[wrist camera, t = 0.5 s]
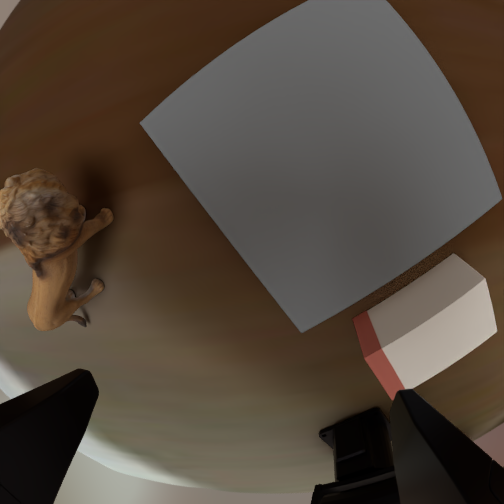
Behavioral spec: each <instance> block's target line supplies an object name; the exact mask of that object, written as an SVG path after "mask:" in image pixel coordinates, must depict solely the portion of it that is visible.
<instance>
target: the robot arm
mask: <svg viewBox="0 0 504 504" xmlns="http://www.w3.org/2000/svg"><path fill="white" fill-rule="evenodd" d="M98 396H99V390H98V387H97V385H96V383H95V380H94V378H93V376H92V374H91V372H90V371H88V370H84V369H76V370H74V371H72V372H70V373H68V374H65V375H63V376H61V377H59V378H57V379H55V380H53V381H50V382H48V383H46V384H44V385H42V386H40V387H37V388H35V389H33V390H31V391H29V392H26V393H24V394H22V395H20V396H17V397H15V398H13V399H11V400H8V401H6V402H4V403H2V404H0V504H53V503H54V501H55V498H56V496H57V494H58V491H59V489H60V487H61V484H62V482H63V480H64V477H65V475H66V473H67V470H68V468H69V466H70V464H71V461H72V459H73V457H74V455H75V453H76V451H77V449H78V446H79V444H80V442H81V440H82V438H83V436H84V434H85V431H86V429H87V426H88V423H89V420H90V418H91V415H92V412H93V409H94V407H95V404H96V401H97V399H98ZM319 437H320V438H321V439H322V440H323V441H324V442H326V443H327V444H328V445H329V446H330V447H331V448H332V449H333V453H334V471H335V482H332V483H328V484H323V485H322V484H319V485H315V489H314V492H313V495H312V500H311V504H504V468H503V467H502V466H500V465H499V464H498V463H497V462H496V461H495V460H492V458H491V457H490V456H489V455H488V454H487V453H485V452H484V451H483V450H482V449H481V448H480V447H478V446H477V445H476V444H475V443H474V442H473V441H472V440H470V439H469V438H468V437H467V436H466V435H465V434H464V433H462V432H461V431H460V430H459V429H458V428H457V427H456V426H454V425H453V424H452V423H451V422H450V421H449V420H447V419H446V418H445V417H444V416H443V415H442V414H441V413H439V412H438V411H437V410H436V409H435V408H434V407H433V406H431V405H430V404H429V403H428V402H427V401H426V400H424V399H423V398H422V397H421V396H420V395H419V394H418V393H416V392H415V391H414V390H413V389H403V390H398V391H397V392H396V395H395V398H394V401H393V404H392V407H391V410H390V422H389V421H388V419H387V418H386V416H385V415H384V414H383V412H382V411H381V410H380V408H373V409H371V410H369V411H367V412H365V413H363V414H360V415H358V416H356V417H354V418H351V419H349V420H347V421H344V422H342V423H339V424H337V425H334V426H332V427H329V428H327V429H324V430H322V431H320V432H319ZM391 440H392V446H391V442H390V441H391ZM392 448H393V451H392Z"/></svg>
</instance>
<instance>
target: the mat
mask: <svg viewBox="0 0 504 504" xmlns="http://www.w3.org/2000/svg"><path fill="white" fill-rule="evenodd" d="M140 124H141V125H142V127H143V128H144V129H145V131H146V132H147V133H148V135H149V136H150V137H151V139H152V140H153V141H154V143H155V144H156V145H157V147H158V148H159V149H160V151H161V152H162V153H163V155H164V156H165V157H166V159H167V160H168V161H169V163H170V164H171V165H172V167H173V168H174V169H175V171H176V172H177V173H178V174H179V176H180V177H181V178H182V180H183V181H184V182H185V184H186V185H187V186H188V188H189V189H190V190H191V192H192V193H193V194H194V195H195V197H196V198H197V199H198V201H199V202H200V203H201V205H202V206H203V207H204V209H205V210H206V211H207V212H208V214H209V215H210V216H211V218H212V219H213V220H214V222H215V223H216V224H217V225H218V227H219V228H220V229H221V231H222V232H223V233H224V235H225V236H226V237H227V238H228V240H229V241H230V242H231V244H232V245H233V246H234V248H235V249H236V250H237V251H238V253H239V254H240V255H241V257H242V258H243V259H244V260H245V262H246V263H247V264H248V266H249V267H250V268H251V269H252V271H253V272H254V273H255V275H256V276H257V277H258V278H259V280H260V281H261V282H262V284H263V285H264V286H265V287H266V289H267V290H268V291H269V293H270V294H271V295H272V296H273V298H274V299H275V300H276V302H277V303H278V304H279V305H280V307H281V308H282V309H283V310H284V312H285V313H286V314H287V316H288V317H289V318H290V319H291V321H292V322H293V323H294V324H295V326H296V327H297V328H298V329H299V331H300V332H301V333H303V332H305V331H306V330H308V329H310V328H312V327H314V326H316V325H317V324H319V323H321V322H323V321H324V320H326V319H328V318H330V317H332V316H333V315H335V314H337V313H339V312H340V311H342V310H344V309H345V308H347V307H349V306H350V305H352V304H354V303H356V302H357V301H359V300H360V299H362V298H364V297H365V296H367V295H369V294H370V293H372V292H374V291H375V290H377V289H378V288H380V287H382V286H383V285H385V284H386V283H388V282H389V281H391V280H392V279H394V278H396V277H397V276H399V275H400V274H402V273H403V272H405V271H406V270H408V269H409V268H411V267H412V266H414V265H415V264H417V263H418V262H420V261H421V260H422V259H424V258H425V257H427V256H428V255H430V254H431V253H432V252H434V251H435V250H437V249H438V248H439V247H441V246H442V245H444V244H445V243H446V242H448V241H449V240H450V239H452V238H453V237H455V236H456V235H457V234H459V233H460V232H461V231H463V230H464V229H465V228H466V227H468V226H469V225H470V224H472V223H473V222H474V221H475V220H477V219H478V218H479V217H481V216H482V215H483V214H484V213H486V212H487V211H488V210H489V209H490V208H492V207H493V206H494V205H495V204H497V203H498V202H499V201H500V200H501V199H502V197H501V194H500V191H499V188H498V185H497V182H496V180H495V177H494V174H493V172H492V169H491V167H490V164H489V162H488V159H487V157H486V154H485V152H484V150H483V148H482V145H481V143H480V141H479V139H478V137H477V135H476V132H475V130H474V128H473V126H472V124H471V122H470V120H469V118H468V116H467V115H466V113H465V111H464V109H463V107H462V105H461V103H460V102H459V100H458V98H457V96H456V95H455V93H454V91H453V90H452V88H451V86H450V85H449V83H448V81H447V80H446V78H445V77H444V75H443V73H442V72H441V70H440V69H439V67H438V66H437V64H436V63H435V61H434V60H433V58H432V57H431V56H430V54H429V53H428V51H427V50H426V49H425V47H424V46H423V44H422V43H421V42H420V40H419V39H418V38H417V36H416V35H415V34H414V33H413V31H412V30H411V29H410V28H409V26H408V25H407V24H406V23H405V21H404V20H403V19H402V18H401V17H400V16H399V14H398V13H397V12H396V11H395V10H394V9H393V8H392V6H391V5H390V4H389V3H388V2H387V1H386V0H308V1H307V2H305V3H303V4H301V5H299V6H297V7H295V8H293V9H292V10H290V11H288V12H286V13H284V14H283V15H281V16H279V17H278V18H276V19H274V20H272V21H271V22H269V23H268V24H266V25H264V26H263V27H261V28H259V29H258V30H256V31H255V32H253V33H252V34H250V35H249V36H247V37H246V38H244V39H243V40H241V41H240V42H238V43H237V44H235V45H234V46H232V47H231V48H229V49H228V50H227V51H225V52H224V53H222V54H221V55H220V56H218V57H217V58H216V59H214V60H213V61H212V62H210V63H209V64H208V65H206V66H205V67H204V68H202V69H201V70H200V71H199V72H197V73H196V74H195V75H194V76H192V77H191V78H190V79H189V80H187V81H186V82H185V83H184V84H183V85H181V86H180V87H179V88H178V89H177V90H175V91H174V92H173V93H172V94H171V95H170V96H169V97H167V98H166V99H165V100H164V101H163V102H162V103H161V104H160V105H158V106H157V107H156V108H155V109H154V110H153V111H152V112H151V113H150V114H149V115H148V116H147V117H146V118H144V119H143V120H142V121H141V122H140Z"/></svg>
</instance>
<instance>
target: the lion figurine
mask: <svg viewBox="0 0 504 504" xmlns="http://www.w3.org/2000/svg"><path fill="white" fill-rule="evenodd" d="M85 216H86V211H85V208H84V207H83V206H82V205H79V201H78V200H77V197H76V196H75V195H71V194H69V193H68V192H67V190H66V188H65V187H64V185H63V184H62V183H61V182H60V181H59V180H57V177H56V176H54V175H52V174H51V173H50V172H46V171H45V170H42V169H38V168H35V169H33V170H31V171H28V172H26V173H23V174H20V175H14V176H12V177H10V178H7V180H6V182H5V188H3V189H2V190H1V191H0V229H2V230H3V231H4V232H5V235H6V236H7V237H10V238H11V239H12V241H13V243H14V244H15V245H16V246H17V247H18V248H19V249H20V251H21V253H22V254H23V255H24V257H25V260H26V262H27V263H28V265H29V266H30V267H31V268H32V269H33V287H32V294H31V297H30V299H29V302H28V305H27V311H28V314H29V317H30V319H31V321H32V322H33V324H34V326H35V327H36V328H37V329H38V330H40V331H49V330H53V329H55V328H57V327H59V326H61V325H62V324H64V323H65V322H66V321H76V322H78V323H79V324H80V325H82V326H84V327H86V320H85V319H84V318H82V317H80V316H77V315H72V314H73V313H74V312H75V311H76V310H77V309H78V308H79V307H80V306H81V305H84V304H86V303H87V302H88V301H89V300H90V299H91V298H92V297H94V296H95V295H97V294H99V293H100V292H101V291H102V290H103V289H104V284H103V282H102V281H100V280H98V279H94V280H93V281H92V282H91V285H90V288H89V289H88V290H87V291H86V292H85V293H84V294H82V295H81V296H80V297H76V298H75V294H74V293H73V291H72V290H69V288H70V286H71V284H72V281H73V279H74V277H75V273H76V269H77V249H78V248H79V247H80V246H81V245H82V244H83V243H84V242H85V241H86V240H88V239H89V238H90V237H91V236H93V235H94V234H95V233H97V232H98V231H100V230H101V229H103V228H105V227H106V226H108V225H109V224H110V223H111V222H112V221H113V218H114V217H113V213H112V212H111V210H110V209H106V208H102V209H101V211H100V214H98V215H96V217H95V218H94V219H93V220H88V221H85V222H84V220H85Z"/></svg>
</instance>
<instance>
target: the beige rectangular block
mask: <svg viewBox="0 0 504 504" xmlns="http://www.w3.org/2000/svg"><path fill="white" fill-rule="evenodd" d="M352 320H353V323H354V326H355V329H356V332H357V336H358V339H359V342H360V346H361V349H362V353H363V356H364V359H365V360H366V362H367V363H368V365H369V366H370V368H371V369H372V371H373V372H374V374H375V375H376V377H377V378H378V380H379V381H380V383H381V384H382V386H383V387H384V389H385V390H386V392H387V394H388V395H389V397H390V398H391V400H394V398H395V395H396V392H397V391H398V390H403V389H412V388H414V387H416V386H418V385H419V384H421V383H423V382H425V381H426V380H428V379H430V378H431V377H433V376H434V375H436V374H438V373H439V372H441V371H443V370H444V369H446V368H447V367H449V366H450V365H452V364H453V363H455V362H456V361H458V360H459V359H461V358H462V357H464V356H465V355H466V354H468V353H469V352H471V351H472V350H474V349H475V348H476V347H478V346H479V345H480V344H482V343H483V342H484V341H486V340H487V339H488V338H490V337H491V336H492V335H493V334H495V333H496V332H497V327H496V322H495V317H494V312H493V308H492V303H491V299H490V295H489V291H488V287H487V283H486V279H485V278H484V277H483V276H482V275H481V274H479V273H478V272H477V271H476V270H475V269H473V268H472V267H471V266H470V265H468V264H467V263H466V262H465V261H463V260H462V259H461V258H460V257H458V256H457V255H456V254H454V253H453V254H452V255H450V256H449V257H448V258H446V259H445V260H443V261H442V262H441V263H439V264H438V265H436V266H435V267H434V268H432V269H431V270H429V271H428V272H426V273H425V274H424V275H422V276H421V277H419V278H418V279H416V280H415V281H413V282H412V283H410V284H409V285H407V286H406V287H404V288H403V289H401V290H400V291H398V292H396V293H395V294H393V295H392V296H390V297H389V298H387V299H385V300H384V301H382V302H381V303H379V304H377V305H376V306H374V307H373V308H371V309H369V310H368V311H367V310H366V311H364V312H363V313H361V314H359V315H358V316H356V317H354V318H353V319H352Z"/></svg>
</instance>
